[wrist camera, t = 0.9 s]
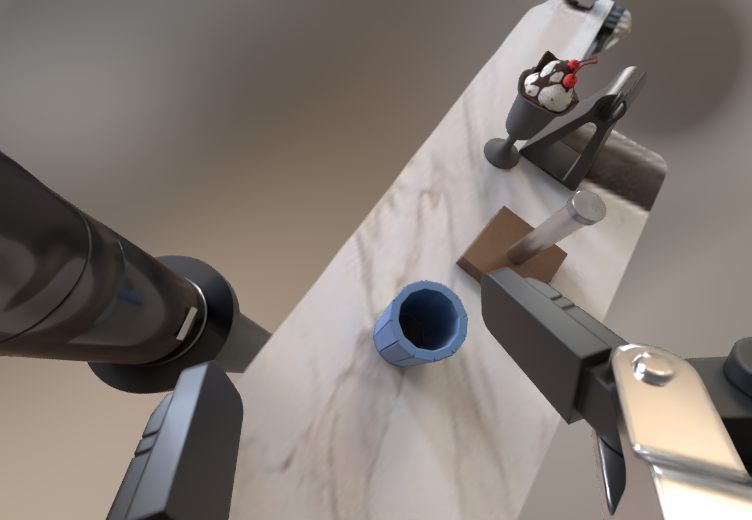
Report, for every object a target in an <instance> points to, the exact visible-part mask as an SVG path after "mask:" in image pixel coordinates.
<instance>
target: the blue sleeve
mask: <svg viewBox="0 0 752 520" xmlns="http://www.w3.org/2000/svg"><path fill="white" fill-rule="evenodd" d="M399 314H403V315H408V316H411V317H413V318H414V319H415V320H416V321H417V322H418V323H420V326H421V328H422V331H423V334H424V337H423V345H422V347H421V348H417V347H415V346H414V345H413V344H412V343H411V342H410V341H409V340H408V339H406V338H405V337H404V334H403V332H402V329H401V326H400V323H399ZM467 321H468V318H467V314H466V311H465V309H464V307H463V305H462V302H461V300H460V299H458V296H457V295H456V294H455V293H453V292H452V291H451V290H450V289H449V288H447V287H446V286H445V285H443V286H442V284H441V283H436V282H431V281H427V280H425V281H423V280H422V281H418V282H415V283H412V284H409V285H406V287H404V288H403V289H402V290H401V291H400V292H399V293H398V294H397V296H396V297H395V298H394V299H393V300H392V302H391V303H390V305H389V306H388V307H387V309H386V310H385V311H384V313H383V314H382V315H381V317H380V318H379V320H378V321H377V323H376V326H375V332H374V337H375V338H374V341H375V344H376V347H377V350H378V352H379V354H380V355H381V356H382V357H384V358H385V359H386V360H387V361H388V362H389V363H391V364H395V365H400V366H411V365H417V364H423V363H429V362H436V361H439V360H441V359H444V358H447V357H449V356H452V355H453V354H455V353H456V351H457V350H458V349H459V347H460V346H461V345H462V343H463V342H464V340H465V337H466V334H467Z"/></svg>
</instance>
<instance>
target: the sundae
mask: <svg viewBox="0 0 752 520" xmlns="http://www.w3.org/2000/svg"><path fill="white" fill-rule="evenodd" d="M587 60H593V61H592V62H590V63H586V64H583V65H581V66H580V63H581V62H584V61H587ZM597 62H598V61H597V57H596V56H593V58H590V59H586V60H582V61H577V60H575V59H574V60H571V61H570V62H569V60H559V59H557V58H556V57H555V56H554V55H553V54H552V53H551V52H549V51H546V52H545V54H544V55H543V57H542V58H541V60H540V61H539V63H538V65H537V66H536V67H533V68H532V69H528V70H525V71H524V72H522V74H521V76H520V78H519V82H518V95H517V97H516V99H515V101H514V103H513V105H512V108H511V110H510V112H509V114H508V117H507V120H506V129H507V132H508V134H509V136H508V138H507V139H506V140H505V139H501V138H495V139H491V140H489V141H488V142H487V143H486V144H485V147H484V153H485V155H486V157H487V159H488V160H489V161H490V162H491V163H492V164H494V165H495V166H497V167H500V168H511V167H513V166H515V165H516V164H517V162H518V160H519V153H518V150H517V148H516V147H515V146H514V145H513V144H514V143H515V142H516V140H529V139H531V138H533V137H534V136H535V135H537V134H538V133H539V132H540V131H542V130H543V129H544V128H545V127H546V126H547V125H548V124H549V123H550V122H551V121H552V120H553V119H554V118H556V117H557V116H558V117H560V116H564V115H566V114H568V113H569V112H571V111H572V110H573V109H574V108H575V107H576V105H577V104H578V103H579V100H578V96H577V94H576V93H575V91H574V85H575V83H576V82H577V77H576V72H577V71H578V70H579V69H580V68H581V67H582V66H584V65H587V64H596V63H597Z"/></svg>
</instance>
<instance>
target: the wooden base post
mask: <svg viewBox="0 0 752 520" xmlns="http://www.w3.org/2000/svg"><path fill="white" fill-rule="evenodd" d="M605 215H606V206H605V204H604V202H603V201H602V199H601V198H600V197H599V196H597V195H596V194H594V193H592V192H590V191H579V192H577V193H576V194H575V195H573V196H572V197H571V198H570V199H569V200H568V202H567V205H566V206H565V207H563V208H562V209H561V210H559V211H558V212H557V213H555V214H554V215H553V216H551V217H550V218H549V219H547V220H546V221H545V222H543V223H542V224H541V225H539V226H538V227H537V228H535V229H534V228H533V227H531V226H530V225H529V224H528V223H526V222H525V221H524V220H522V219H521V218H520V217H518V216H517V215H516V214H514V213H513V212H512V211H510V210H509V209H508V208H506V207H505V206H503V207H502V208H501V209H500V210H499V211H498V212H497V213H496V214H495V216H494V217H493V218H492V219H491V221H490V222H489V223H488V224H487V225H486V227H485V228H484V229H483V230H482V232H481V233H480V234H479V235H478V236H477V238H476V239H475V240H474V241H473V242H472V244H471V245H470V246H469V247H468V249H467V250H466V251H465V252H464V253H463V255H462V256H461V257H460V258H459V260H458V261H457V262H456V263H457V264H458V265H459V266H460V267H461V268H463V269H464V270H465V271H466V272H468V273H469V274H470V275H471V276H473V277H474V278H475V279H476V280H477V281H479V282H480V283H481V276H482V275H483V274H485V273H488V272H491V271H494V270H497V269H500V268H503V267H509V268H511V269H512V270H514V271H515V272H516V273H517V274H519V275H520V276H521V277H523V278H524V279H525V278H528V277H530V278H533V279H535V280H538V281H541V282H543V283H546V284H549V282H550V281H551V279H552V278H553V276H554V274H555V273H556V271H557V270H558V268H559V267H560V265H561V264H562V262H563V261H564V259H565V257H566V256H567V253H566V252H564V251H563V250H562V249H560V248H559V247H558V246H557V245H555V243H557V242H558V241H560V240H562V239H563V238H565V237H567V236H568V235H570V234H572V233H573V232H575V231H576V230H578V229H580V228H581V227H583V226H585V225H593V224H595V223H597V222H599V221H600V220H602V219H603V218H604V217H605Z"/></svg>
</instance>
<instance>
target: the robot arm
mask: <svg viewBox="0 0 752 520" xmlns="http://www.w3.org/2000/svg"><path fill="white" fill-rule="evenodd" d="M481 303H482V316H483V320H484V322H485V325H486V327H487V328H488V330H489V331H490V333H491V334H492V335H493V336H494V337H495V339H496V340H497V341H498V342H499V343H500V344H501V346H502V347H503V348H504V349H505V350H506V352H507V353H508V354H509V355H510V356H511V357H512V359H513V360H514V361H515V362H516V363H517V365H518V366H519V367H520V368H521V369H522V370H523V372H524V373H525V374H526V375H527V376H528V377H529V379H530V380H531V381H532V382H533V383H534V385H535V386H536V387H537V388H538V389H539V390H540V392H541V393H542V394H543V395H544V396H545V398H546V399H547V400H548V401H549V402H550V403H551V405H552V406H553V407H554V408H555V409H556V410H557V412H558V413H559V414H560V415H561V416H562V418H563V419H564V420H565V421H566V422H567V423H568V424H571V423H574V422H576V421H579V420H581V419H585V420H586V421H587V422H588V423H589V424H590V425H591V427H592V442H593V448H594V456H595V463H596V470H597V477H598V484H599V491H600V498H601V505H602V512H603V520H752V337H748V338H743V339H741V340H738V341H737V342H736V343H735V344H734V346H733V348H732V350H731V352H730V354H729V355H728V357H711V358H689V359H683V358H681V357H680V356H678V355H676V354H674V353H672V352H670V351H668V350H665V349H663V348H660V347H656V346H652V345H647V344H629V343H628V342H626V341H625V340H623V339H622V338H621V337H619V336H618V335H617V334H615V333H614V332H612V331H611V330H610V329H608V328H607V327H606V326H604V325H603V324H601V323H600V322H599V321H597V320H596V319H595V318H593V317H592V316H591V315H589V314H588V313H586V312H585V311H584V310H582V309H581V308H580V307H578V306H575V305H574V303H573V302H571V301H570V300H569V299H567V298H566V297H562V294H560V293H559V292H558V291H556V290H555V289H554V288H552V287H551V286H549V285H548V284H546V283H543V282H541V281H538V280H535V279H533V278H530V277H528V278H525V279H524V278H523V277H521V276H520V275H519V274H517V273H516V272H515V271H514V270H512V269H511V268H509V267H503V268H500V269H497V270H494V271H491V272H488V273H485V274H483V275H482V276H481ZM208 318H209V306H208V302H207V299H206V296H205V294H204V293H203V291H202V290H201V289H200V288H199V287H198V286H197V285H196V284H195V283H193V282H192V281H190V280H189V279H187V278H185V277H182V276H181V275H179V274H178V273H177V272H175V271H174V270H172V269H171V268H169V267H168V266H166V265H165V264H163V263H162V262H160V261H158V260H157V259H155V258H154V257H152V256H151V255H149V254H148V253H146V252H145V251H143V250H142V249H140V248H139V247H137V246H136V245H134V244H133V243H131V242H130V241H128V240H127V239H125V238H124V237H122V236H121V235H119V234H118V233H116V232H115V231H113V230H112V229H110V228H108V227H107V226H105V225H104V224H102V223H101V222H99V221H97V220H96V219H94V218H93V217H91V216H90V215H88V214H87V213H85V212H84V211H82V210H81V209H79V208H78V207H76V206H75V205H73V204H72V203H70V202H69V201H67V200H65V199H64V198H63V197H61V196H60V195H58V194H57V193H55V192H54V191H52V190H51V189H49V188H48V187H46V186H45V185H44V184H43V183H41V182H40V181H39V180H38V179H37V178H35V177H34V176H33V175H32V174H31V173H29V172H28V171H27V170H26V169H24V168H23V167H22V166H21V165H20V164H18V163H17V162H16V161H15V160H13V159H12V158H11V157H10V156H9V155H7V154H6V153H5V152H3V151H2V150H0V356H9V357H25V358H40V359H56V360H72V361H86V362H102V363H117V364H132V365H136V366H145V367H153V366H160V365H164V364H168V363H170V362H173V361H175V360H177V359H179V358H180V357H182V356H183V355H185V354H186V353H187V352H189V351H190V350H191V349H192V348H193V347H194V346H195V345H196V344H197V342H198V341H199V340H200V338H201V337H202V335H203V333H204V331H205V329H206V326H207V323H208ZM242 421H243V404H242V399H241V396H240V394H239V392H238V391H237V389H236V388H235V386H234V385H233V383H232V382H231V380H230V379H229V377H228V376H227V374H226V373H225V371H224V370H223V368H222V367H221V365H220V364H219V363H218V362H217V361H216V360H210V361H207V362H204V363H201V364H198V365H195V366H192V367H188V368H186V369H184V370H183V371H182V372H181V374H180V376H179V379H178V381H177V384H176V387H175V389H174V392H173V393H171V394H168V395H166V396H165V398H164V399H163V400H162V401H161V403H160V404H159V405H158V407H157V408H156V409H155V410H154V412H153V413H152V414H151V416H150V419H149V421H148V423H147V425H146V428H145V430H144V432H143V435H142V437H143V439H142V440H140V442H139V444H138V446H137V449H136V451H135V453H134V454H135V458H132V460H131V462H130V465H129V467H128V470H127V472H126V474H125V476H124V479H123V481H122V483H121V486H120V488H119V490H118V493H117V495H116V497H115V499H114V502H113V504H112V507H111V509H110V511H109V513H108V516H107V518H106V520H228V518H229V511H230V504H231V497H232V490H233V483H234V476H235V469H236V462H237V456H238V449H239V442H240V435H241V428H242Z"/></svg>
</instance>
